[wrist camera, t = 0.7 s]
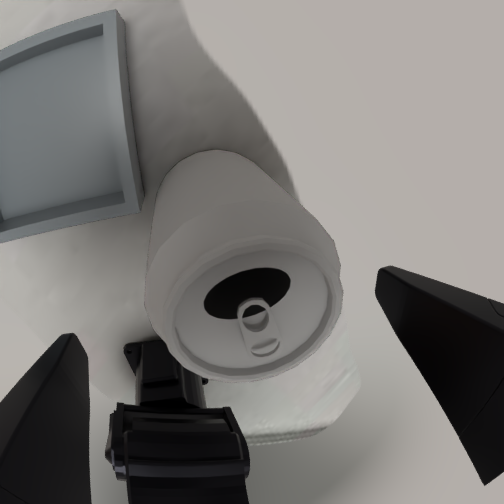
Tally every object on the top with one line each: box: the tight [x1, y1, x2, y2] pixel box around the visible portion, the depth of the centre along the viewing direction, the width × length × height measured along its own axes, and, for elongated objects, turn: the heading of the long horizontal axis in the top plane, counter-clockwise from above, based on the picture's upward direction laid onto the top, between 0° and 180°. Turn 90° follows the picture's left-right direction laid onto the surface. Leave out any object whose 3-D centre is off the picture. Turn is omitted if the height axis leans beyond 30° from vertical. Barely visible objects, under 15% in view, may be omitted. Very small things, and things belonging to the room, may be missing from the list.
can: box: [144, 150, 343, 383], centre depth 15 cm, size 8×8×12 cm
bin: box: [0, 9, 145, 243], centre depth 13 cm, size 11×11×3 cm
